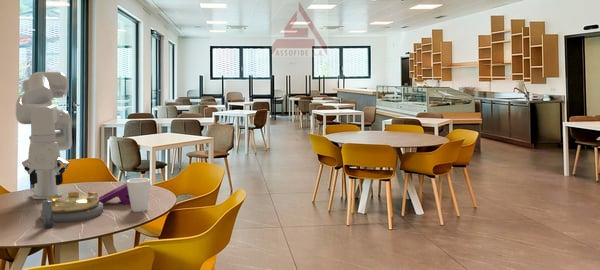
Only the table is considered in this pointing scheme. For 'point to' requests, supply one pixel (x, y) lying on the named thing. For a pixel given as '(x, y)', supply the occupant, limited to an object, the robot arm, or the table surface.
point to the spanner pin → (47, 214)
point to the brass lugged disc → (74, 202)
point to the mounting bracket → (117, 195)
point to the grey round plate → (77, 215)
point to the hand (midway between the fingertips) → (46, 184)
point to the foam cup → (138, 193)
